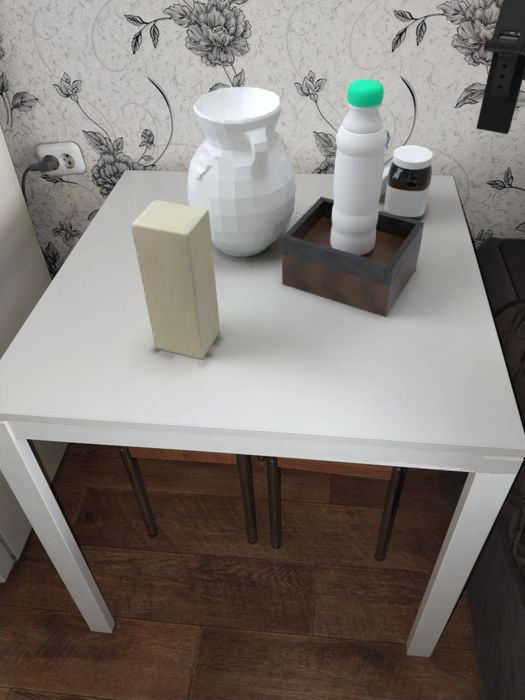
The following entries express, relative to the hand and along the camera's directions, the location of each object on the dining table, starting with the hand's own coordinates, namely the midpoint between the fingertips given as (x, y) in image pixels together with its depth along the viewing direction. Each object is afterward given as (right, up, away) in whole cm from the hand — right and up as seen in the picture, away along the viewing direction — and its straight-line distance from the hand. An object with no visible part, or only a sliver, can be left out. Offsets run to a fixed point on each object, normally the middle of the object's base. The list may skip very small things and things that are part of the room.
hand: (510, 103), depth 56 cm
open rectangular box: (-9, -11, +42) cm, 44 cm away
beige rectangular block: (-35, -22, +32) cm, 52 cm away
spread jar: (+2, +3, +57) cm, 57 cm away
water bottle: (-10, -7, +38) cm, 39 cm away
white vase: (-27, -4, +50) cm, 57 cm away
